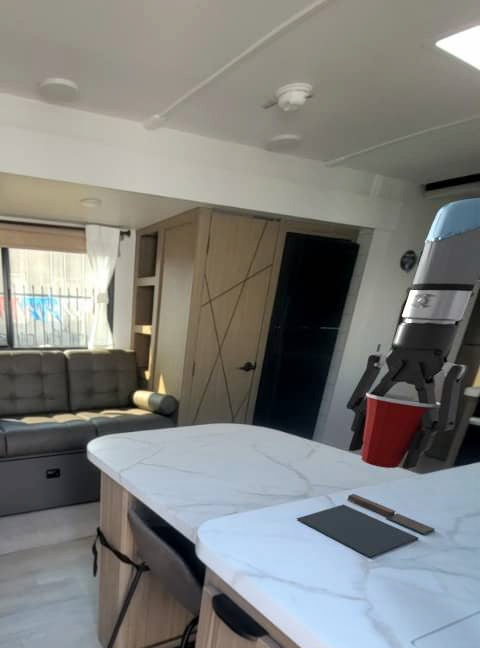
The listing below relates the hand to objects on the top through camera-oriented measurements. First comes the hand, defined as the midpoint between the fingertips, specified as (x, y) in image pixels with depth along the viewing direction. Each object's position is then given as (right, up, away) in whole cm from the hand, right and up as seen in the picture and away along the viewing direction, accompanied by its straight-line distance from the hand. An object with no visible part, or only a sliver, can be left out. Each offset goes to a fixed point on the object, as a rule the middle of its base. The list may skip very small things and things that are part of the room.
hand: (380, 457), depth 73 cm
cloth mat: (-1, -13, +6) cm, 15 cm away
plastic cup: (0, -1, +1) cm, 1 cm away
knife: (+10, -11, +12) cm, 19 cm away
